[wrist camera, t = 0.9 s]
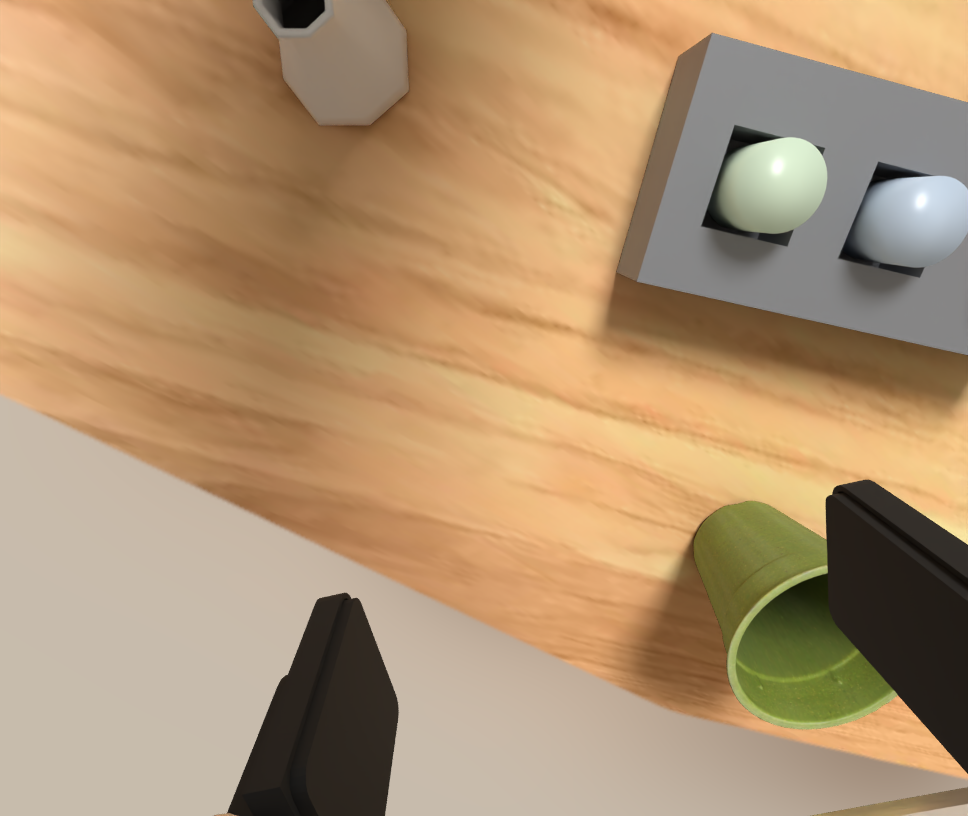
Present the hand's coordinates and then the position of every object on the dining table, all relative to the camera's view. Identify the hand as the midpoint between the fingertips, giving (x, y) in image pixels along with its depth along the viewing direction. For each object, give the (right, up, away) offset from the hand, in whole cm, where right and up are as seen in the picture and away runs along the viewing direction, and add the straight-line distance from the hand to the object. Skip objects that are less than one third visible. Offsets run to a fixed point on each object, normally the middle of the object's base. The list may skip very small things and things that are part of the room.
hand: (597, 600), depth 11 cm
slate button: (+20, +14, +21) cm, 32 cm away
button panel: (+20, +15, +23) cm, 34 cm away
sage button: (+12, +16, +20) cm, 29 cm away
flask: (-10, +23, +20) cm, 32 cm away
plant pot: (+17, -6, +31) cm, 36 cm away
